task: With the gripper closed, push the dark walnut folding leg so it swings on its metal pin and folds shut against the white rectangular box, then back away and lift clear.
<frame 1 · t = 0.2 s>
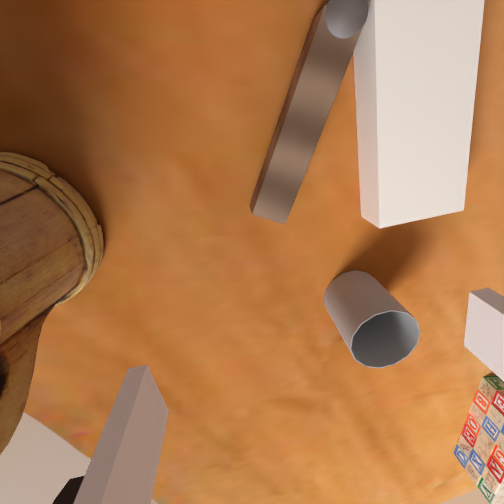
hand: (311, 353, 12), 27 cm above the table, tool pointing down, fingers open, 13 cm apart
white rectangular box: (398, 118, 34), on the table
folding leg: (302, 120, 31), point 3 cm above the table, hinge at -30.0°
stack of blocks: (480, 414, 57), on the table
cup: (350, 295, 44), on the table
tankard: (40, 247, 37), on the table
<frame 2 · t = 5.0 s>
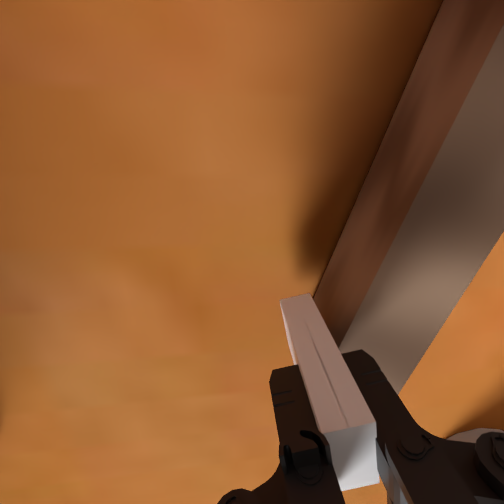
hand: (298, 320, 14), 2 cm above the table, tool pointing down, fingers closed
folding leg: (444, 181, 12), point 3 cm above the table, hinge at -29.3°, touching gripper
cup: (463, 460, 24), on the table
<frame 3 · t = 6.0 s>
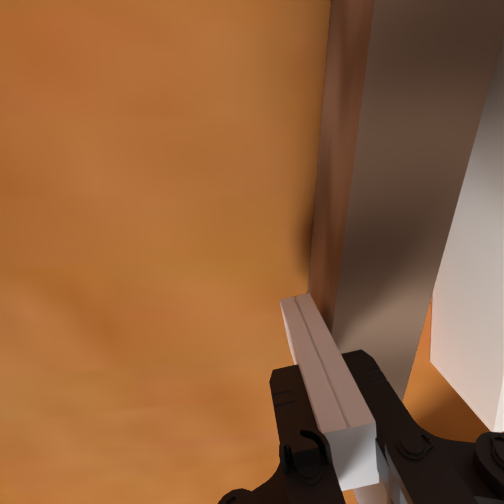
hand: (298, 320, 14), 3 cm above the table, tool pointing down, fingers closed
folding leg: (378, 215, 12), point 3 cm above the table, hinge at -12.1°, touching gripper
cup: (400, 470, 24), on the table
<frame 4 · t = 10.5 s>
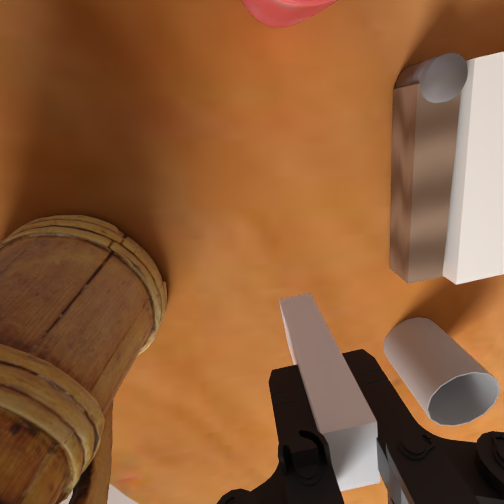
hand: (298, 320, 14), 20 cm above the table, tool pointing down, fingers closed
white rectangular box: (474, 170, 33), on the table
folding leg: (422, 181, 30), point 3 cm above the table, hinge at -2.2°
cup: (410, 340, 42), on the table
tankard: (101, 302, 36), on the table
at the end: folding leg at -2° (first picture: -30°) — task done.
